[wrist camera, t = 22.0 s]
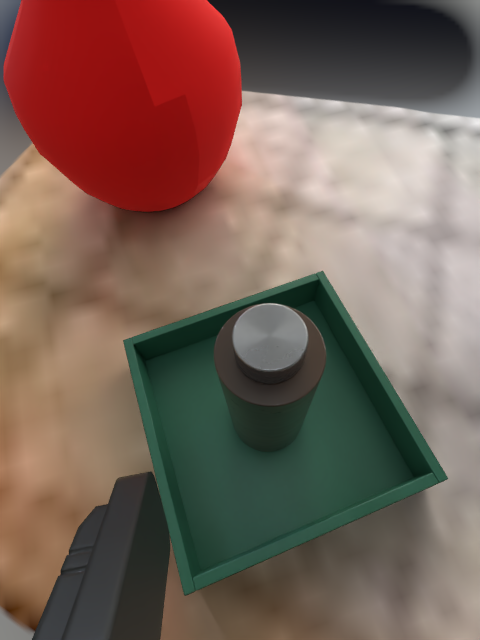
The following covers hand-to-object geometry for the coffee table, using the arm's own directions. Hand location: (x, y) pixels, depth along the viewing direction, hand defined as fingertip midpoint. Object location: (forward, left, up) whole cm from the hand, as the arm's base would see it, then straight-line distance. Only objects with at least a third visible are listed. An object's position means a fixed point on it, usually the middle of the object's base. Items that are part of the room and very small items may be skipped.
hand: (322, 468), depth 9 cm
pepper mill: (-1, -5, -16) cm, 17 cm away
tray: (-1, -5, -17) cm, 17 cm away
